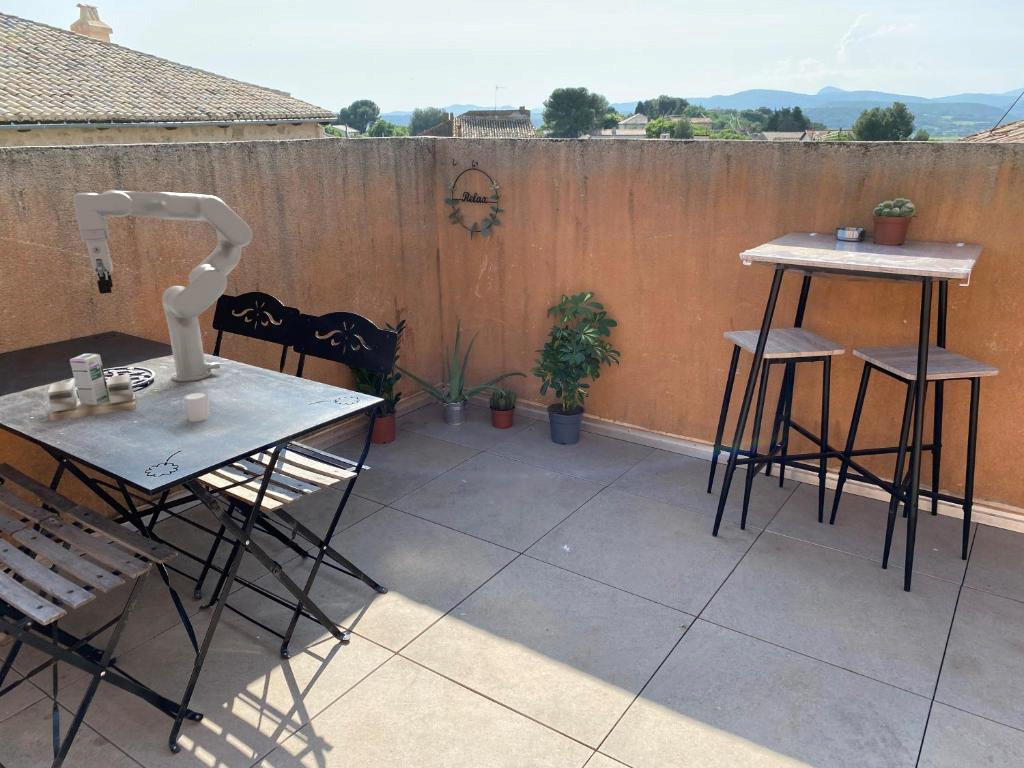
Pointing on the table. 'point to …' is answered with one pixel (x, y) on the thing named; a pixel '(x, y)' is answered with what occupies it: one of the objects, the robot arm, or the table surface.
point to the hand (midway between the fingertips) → (106, 290)
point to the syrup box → (89, 379)
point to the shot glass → (197, 406)
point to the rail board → (70, 407)
